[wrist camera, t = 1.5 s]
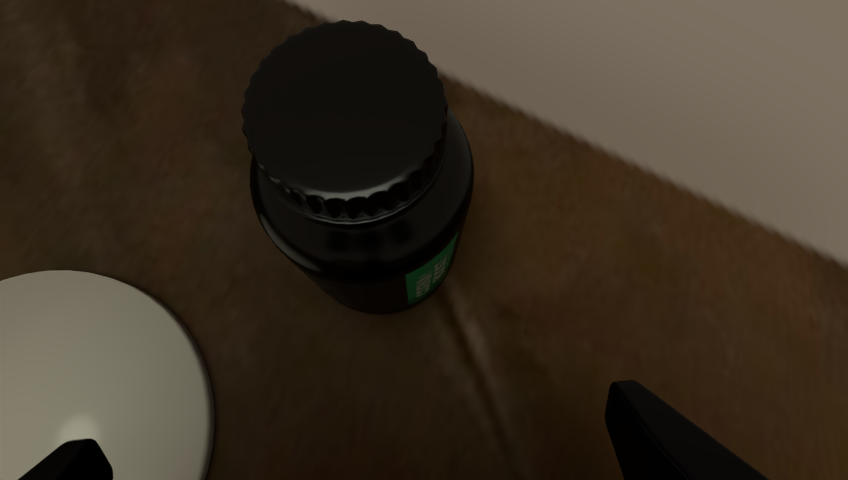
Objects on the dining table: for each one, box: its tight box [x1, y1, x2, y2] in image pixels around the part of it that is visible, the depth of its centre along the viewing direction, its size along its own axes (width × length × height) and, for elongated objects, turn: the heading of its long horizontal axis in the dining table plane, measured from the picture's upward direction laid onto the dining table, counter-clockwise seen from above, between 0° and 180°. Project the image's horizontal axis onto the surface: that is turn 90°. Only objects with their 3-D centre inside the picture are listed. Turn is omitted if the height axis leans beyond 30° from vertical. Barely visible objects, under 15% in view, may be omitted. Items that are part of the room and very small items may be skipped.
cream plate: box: [0, 270, 215, 480], centre depth 20 cm, size 14×14×1 cm
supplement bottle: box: [241, 20, 474, 314], centre depth 17 cm, size 7×7×12 cm
